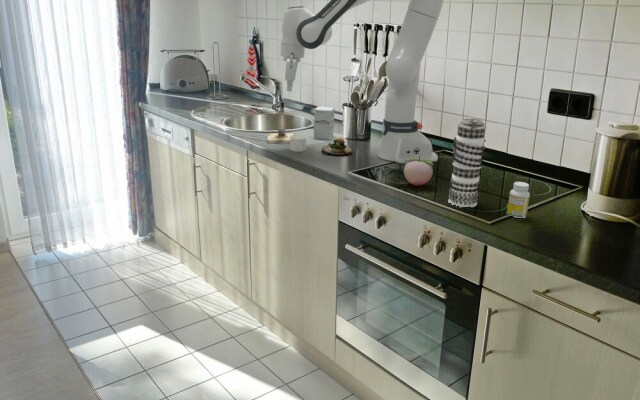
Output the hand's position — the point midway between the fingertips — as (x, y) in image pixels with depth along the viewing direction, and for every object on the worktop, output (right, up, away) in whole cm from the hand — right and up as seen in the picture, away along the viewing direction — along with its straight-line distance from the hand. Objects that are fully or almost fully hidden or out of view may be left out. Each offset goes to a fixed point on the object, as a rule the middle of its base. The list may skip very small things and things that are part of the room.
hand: (289, 88), depth 214 cm
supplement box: (+13, -16, +26) cm, 33 cm away
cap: (+3, -23, +6) cm, 23 cm away
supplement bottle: (+67, -47, -55) cm, 99 cm away
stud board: (-5, -17, +20) cm, 27 cm away
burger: (+18, -24, +4) cm, 31 cm away
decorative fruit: (+43, -38, -33) cm, 66 cm away
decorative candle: (+54, -43, -46) cm, 83 cm away
